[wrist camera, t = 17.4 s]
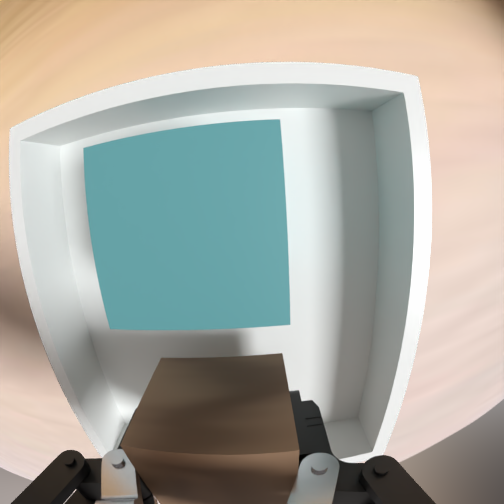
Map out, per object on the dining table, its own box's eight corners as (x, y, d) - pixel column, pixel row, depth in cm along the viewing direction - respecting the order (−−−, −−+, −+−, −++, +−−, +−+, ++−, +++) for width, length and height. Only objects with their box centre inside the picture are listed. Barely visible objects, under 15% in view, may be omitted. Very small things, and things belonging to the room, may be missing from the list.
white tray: (375, 101, 11) (417, 76, 7) (363, 412, 15) (382, 455, 11) (59, 137, 11) (10, 128, 8) (123, 420, 15) (104, 461, 11)
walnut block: (282, 352, 11) (299, 450, 6) (284, 431, 12) (294, 514, 7) (161, 357, 11) (120, 444, 6) (185, 434, 12) (167, 512, 7)
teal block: (267, 148, 11) (279, 119, 6) (274, 269, 12) (290, 324, 7) (147, 160, 11) (83, 148, 6) (159, 276, 12) (109, 329, 7)
